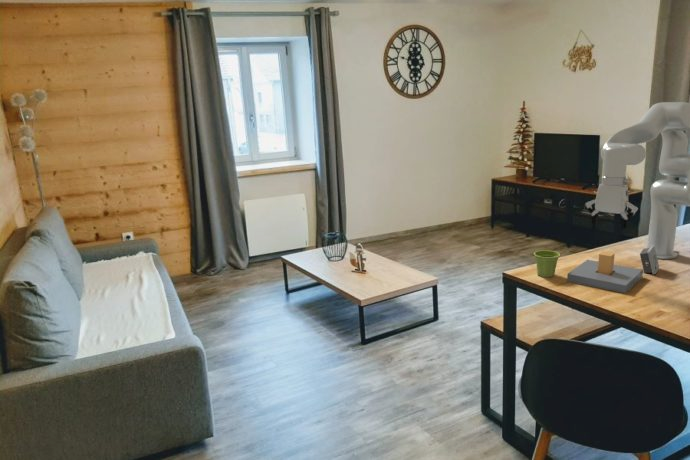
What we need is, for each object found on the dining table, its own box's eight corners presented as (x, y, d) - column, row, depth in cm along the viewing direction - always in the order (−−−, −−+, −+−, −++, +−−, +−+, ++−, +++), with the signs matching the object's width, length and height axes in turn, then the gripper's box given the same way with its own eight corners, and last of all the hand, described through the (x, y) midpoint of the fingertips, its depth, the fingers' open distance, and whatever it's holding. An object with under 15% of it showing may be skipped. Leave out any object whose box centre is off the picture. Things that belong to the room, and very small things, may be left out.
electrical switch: (655, 275, 194) (655, 251, 193) (639, 274, 198) (639, 250, 196) (659, 268, 201) (659, 245, 200) (644, 267, 205) (644, 244, 203)
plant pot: (532, 278, 198) (533, 256, 196) (533, 270, 207) (534, 249, 204) (558, 280, 195) (560, 258, 192) (558, 271, 203) (559, 250, 201)
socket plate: (586, 266, 207) (587, 259, 206) (642, 277, 193) (643, 269, 193) (567, 281, 193) (567, 273, 192) (625, 293, 180) (626, 285, 179)
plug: (601, 276, 196) (603, 251, 193) (612, 279, 193) (614, 253, 190) (597, 279, 193) (599, 254, 191) (608, 282, 190) (610, 256, 188)
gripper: (643, 181, 180) (638, 228, 185) (591, 177, 192) (588, 222, 197) (636, 185, 175) (632, 233, 180) (584, 180, 187) (580, 226, 191)
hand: (609, 227), depth 188 cm, fingers open, 9 cm apart
